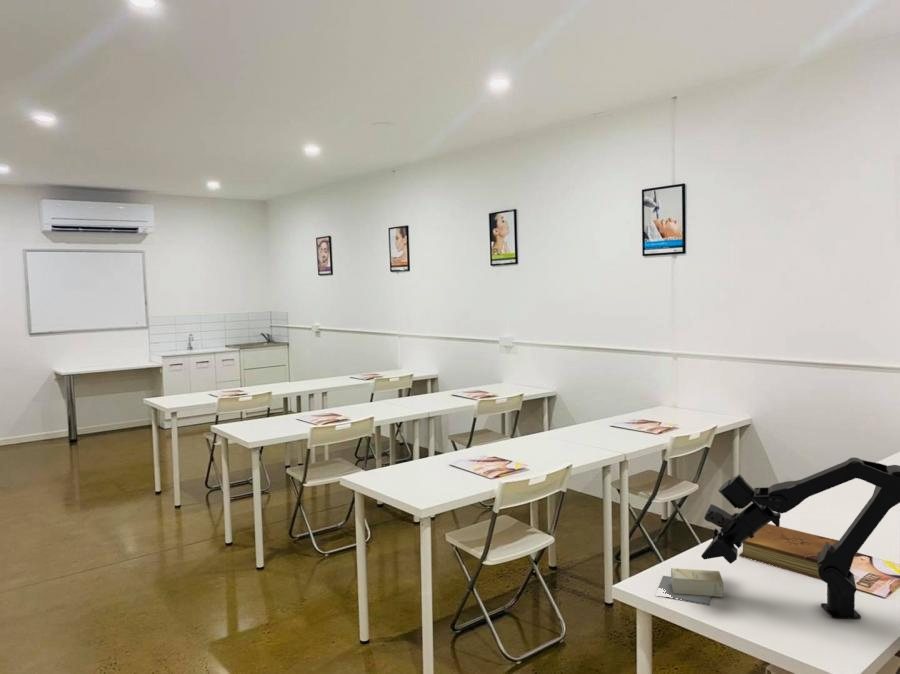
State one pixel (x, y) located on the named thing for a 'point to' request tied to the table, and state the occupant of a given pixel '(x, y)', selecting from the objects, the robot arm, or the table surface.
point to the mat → (667, 586)
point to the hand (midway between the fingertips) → (702, 557)
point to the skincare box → (696, 582)
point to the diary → (786, 549)
